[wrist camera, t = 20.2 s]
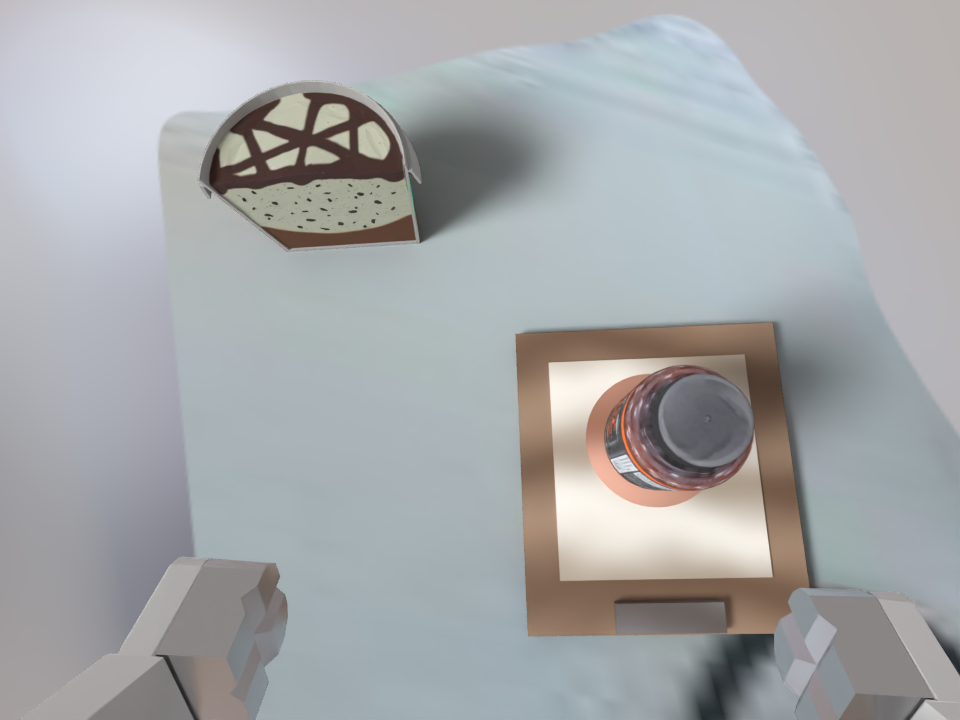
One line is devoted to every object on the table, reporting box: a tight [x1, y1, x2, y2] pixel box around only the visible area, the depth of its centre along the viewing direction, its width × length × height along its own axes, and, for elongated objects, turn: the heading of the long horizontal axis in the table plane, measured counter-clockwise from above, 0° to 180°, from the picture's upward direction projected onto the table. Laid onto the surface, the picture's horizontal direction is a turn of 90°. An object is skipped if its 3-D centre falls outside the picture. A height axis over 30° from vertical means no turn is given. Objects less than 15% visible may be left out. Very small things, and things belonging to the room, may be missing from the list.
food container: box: [198, 80, 422, 252], centre depth 37 cm, size 12×6×10 cm, turn 92°
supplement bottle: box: [604, 365, 755, 491], centre depth 31 cm, size 6×6×11 cm
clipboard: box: [516, 322, 809, 636], centre depth 36 cm, size 18×16×2 cm
